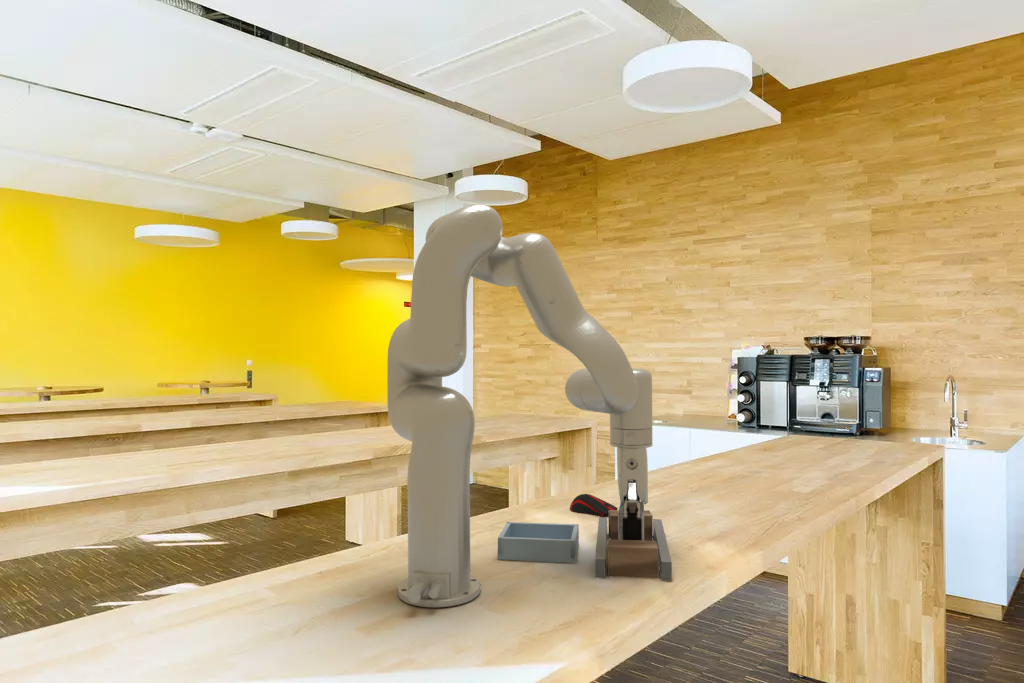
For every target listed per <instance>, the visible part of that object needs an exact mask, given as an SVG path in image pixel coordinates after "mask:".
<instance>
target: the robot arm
mask: <svg viewBox="0 0 1024 683" xmlns="http://www.w3.org/2000/svg"><path fill="white" fill-rule="evenodd" d="M503 227H504V226H503V221H502V217H501V216H500V213H498V211H497V210H496V209H494V208H493V207H491V206H489V205H487V204H482V203H474V204H469V205H467V206H463V207H460V208H458V209H455V210H453V211H452V212H449V213H447V214H445V215H442V216H439V217H438V218H437V219H435V220H433V222H432V223H430V225H429V227H428V228H427V231H426V234H425V243H424V244H423V246H422V248H421V249H420V252H419V254H418V256H417V259H416V262H415V265H414V269H413V273H412V280H411V296H410V318H408V319H406V320H404V321H402V322H401V323H400V324H398V326H397V327H396V328H395V330H394V331H393V333H392V335H391V336H390V340H389V343H388V347H387V348H388V349H387V363H386V364H387V374H386V375H387V382H386V383H387V388H386V389H387V391H386V392H387V394H386V396H387V414H388V419H389V422H390V423H389V424H390V425H391V427H392V429H393V431H394V432H395V433H397V435H399V436H400V437H401V438H403V439H405V440H407V441H409V442H411V449H410V454H409V460H408V464H407V465H408V466H407V475H406V476H407V477H406V479H407V480H406V482H407V491H406V492H407V578H405V579H404V580H402V581H401V582H400V583H399V584H398V586H397V596H398V598H399V599H400V600H402V601H403V602H404V603H407V604H410V605H411V606H416V607H417V606H418V607H421V608H422V607H423V608H446V607H447V608H448V607H453V606H458V605H462V604H465V603H468V602H470V601H473V600H474V599H476V598H477V597H478V596H479V595H480V593H481V586H482V585H481V582H480V581H479V579H478V578H476V576H473V575H471V489H470V488H471V486H470V484H471V483H470V482H471V479H470V478H471V477H470V476H471V475H470V474H471V472H470V471H471V468H470V467H471V456H472V455H471V453H472V447H473V440H474V435H475V428H476V419H475V415H474V410H473V407H472V405H471V403H470V402H469V399H468V398H466V396H464V395H463V394H462V393H461V392H459V391H457V390H456V389H453V388H451V387H447V386H443V378H445V377H446V378H447V377H450V376H452V375H454V374H456V373H457V372H459V371H460V370H461V369H462V368H463V366H464V364H465V361H466V358H467V352H468V351H467V349H468V348H467V347H468V346H467V344H468V343H467V340H468V339H467V333H468V332H467V331H468V329H467V301H468V286H469V283H470V279H471V277H472V278H474V279H476V280H480V281H482V282H485V283H489V284H491V285H496V286H499V287H505V288H508V287H516V289H517V291H518V293H519V294H520V298H521V299H522V300H523V303H524V304H525V307H526V308H527V309H528V312H529V314H530V316H531V318H532V320H533V322H534V324H535V326H536V329H537V330H538V332H540V333H541V334H542V335H543V336H544V337H546V338H547V339H548V340H550V342H553V343H555V344H556V345H558V346H560V347H561V348H564V349H565V350H567V351H568V352H569V353H571V354H572V355H573V356H575V357H576V358H577V359H578V360H579V361H580V362H581V363H582V365H584V367H585V368H580V369H578V370H576V371H575V372H573V373H572V374H570V376H569V377H568V379H567V380H566V382H565V386H564V392H565V396H566V398H567V400H568V402H569V403H570V404H571V405H572V406H574V407H575V408H577V409H579V410H582V411H589V412H594V413H603V414H609V442H610V443H609V445H610V446H611V447H613V448H616V464H617V465H616V470H617V474H616V475H617V488H618V496H619V500H620V502H622V503H623V504H624V518H623V540H640V541H642V519H641V518H640V502H643V503H644V505H647V504H648V503H649V486H648V485H649V483H648V481H649V479H648V476H649V474H648V473H649V472H648V470H649V469H648V468H649V467H648V465H649V464H648V451H647V450H648V448H651V447H653V377H652V376H653V375H652V373H651V372H650V371H649V370H648V369H645V368H637V367H636V368H633V367H632V365H631V364H630V362H629V359H628V357H627V355H626V353H625V352H624V350H623V348H622V346H621V345H620V344H619V342H618V341H617V340H616V339H615V337H614V336H613V335H612V334H611V333H609V331H608V330H606V329H605V327H604V326H603V325H602V324H601V323H600V322H599V321H598V320H597V319H596V318H595V317H594V316H592V315H591V314H590V313H589V312H588V311H587V310H586V309H585V307H584V306H583V303H582V302H581V300H580V299H579V295H578V294H577V291H576V290H575V288H574V286H573V283H572V282H571V279H570V277H569V275H568V274H567V271H566V269H565V267H564V265H563V263H562V261H561V259H560V257H559V255H558V253H557V251H556V249H555V247H554V246H553V244H552V243H551V241H550V240H549V239H548V237H546V236H544V235H543V234H540V233H536V232H528V233H522V234H521V233H520V234H516V235H514V236H513V235H512V236H508V237H505V236H503V230H504V228H503Z"/></svg>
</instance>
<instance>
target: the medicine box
mask: <svg viewBox="0 0 1024 683" xmlns="http://www.w3.org/2000/svg"><path fill="white" fill-rule="evenodd" d="M644 507H645V504H644V502H641V501H640V518H641V519H642V541H644V510H645V508H644ZM618 510H619V512H618V540H623V518H624V504H623V503H622V502H620V503H619V509H618Z"/></svg>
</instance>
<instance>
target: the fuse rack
mask: <svg viewBox="0 0 1024 683" xmlns="http://www.w3.org/2000/svg"><path fill="white" fill-rule="evenodd" d="M596 535H597V536H596V544H595V545H596V546H595V556H594V578H599V579H603V578H606V568H607V567H606V564H607V562H606V561H607V547H608V516H607V517H599V516H598V524H597V534H596ZM653 541H656V542H657V546H658V570H659V574H660V579H661V581H663V582H672V581H673V578H672V576H673V574H672V573H673V569H672V568H673V566H672V565H673V564H672V563H673V562H672V558H671V555H670V550H669V549H670V548H669V546H668V541H667V537H666V534H665V530H664V525H663V520H662V519H661V518H656V519H654V518H653Z"/></svg>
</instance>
